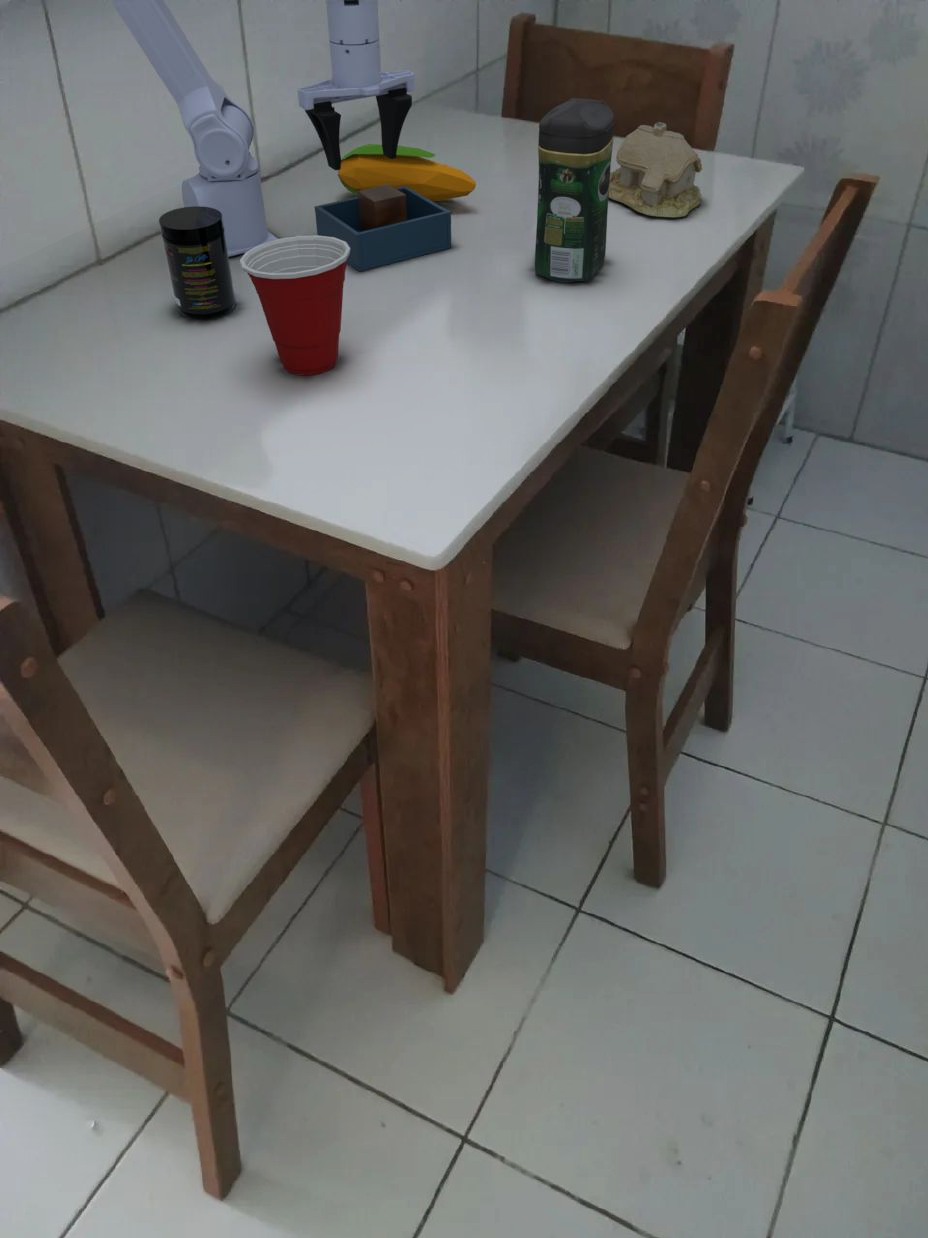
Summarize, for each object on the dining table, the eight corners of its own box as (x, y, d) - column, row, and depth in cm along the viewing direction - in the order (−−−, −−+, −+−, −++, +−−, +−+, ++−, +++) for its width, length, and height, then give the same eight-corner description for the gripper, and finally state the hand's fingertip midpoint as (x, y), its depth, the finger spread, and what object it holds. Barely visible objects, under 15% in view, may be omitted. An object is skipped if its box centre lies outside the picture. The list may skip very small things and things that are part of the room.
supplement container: (246, 312, 121) (231, 220, 114) (189, 327, 118) (171, 234, 111) (223, 291, 125) (208, 201, 118) (168, 305, 122) (149, 214, 115)
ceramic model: (717, 201, 145) (729, 124, 138) (670, 224, 139) (679, 144, 132) (634, 177, 152) (641, 103, 146) (585, 199, 146) (590, 121, 140)
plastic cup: (308, 329, 117) (296, 220, 109) (380, 357, 112) (373, 245, 104) (234, 366, 111) (215, 253, 103) (306, 398, 106) (292, 282, 98)
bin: (359, 271, 129) (356, 234, 126) (318, 241, 136) (314, 206, 133) (451, 247, 134) (451, 211, 131) (407, 219, 141) (405, 185, 138)
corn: (347, 128, 146) (485, 142, 141) (353, 184, 151) (486, 199, 146) (325, 149, 141) (467, 164, 136) (332, 205, 146) (469, 222, 141)
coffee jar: (549, 249, 133) (556, 89, 121) (610, 257, 131) (624, 95, 119) (525, 279, 126) (530, 113, 114) (589, 289, 124) (601, 120, 112)
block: (377, 250, 132) (374, 201, 128) (361, 238, 135) (357, 190, 131) (408, 242, 134) (406, 194, 130) (391, 231, 137) (388, 183, 133)
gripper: (312, 55, 116) (323, 182, 125) (426, 37, 122) (429, 160, 131) (285, 42, 121) (298, 165, 130) (396, 25, 127) (401, 144, 135)
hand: (362, 161), depth 131 cm, fingers open, 7 cm apart
